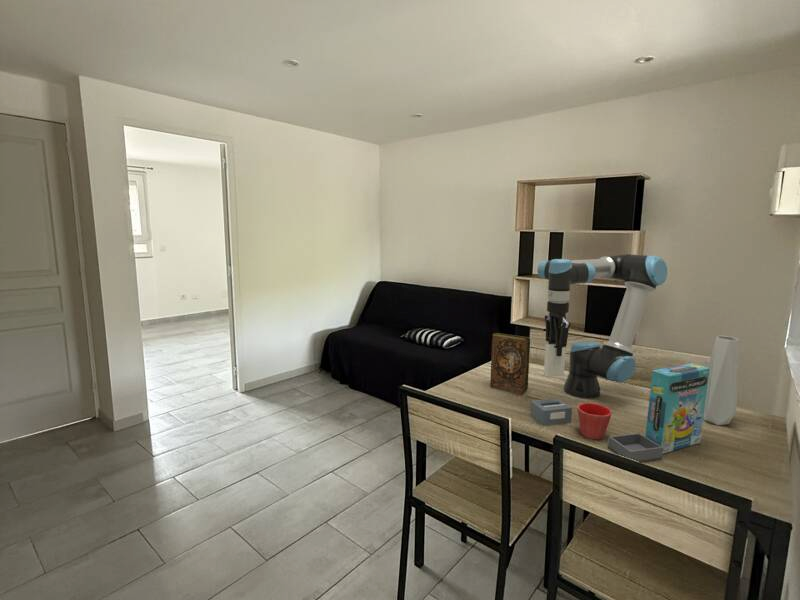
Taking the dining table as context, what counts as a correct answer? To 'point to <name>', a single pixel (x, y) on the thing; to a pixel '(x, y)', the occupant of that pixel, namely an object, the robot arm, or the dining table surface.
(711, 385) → the vase
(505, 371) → the book
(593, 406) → the flower pot
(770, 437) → the dining table surface
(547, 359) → the white rectangular block
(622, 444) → the bin
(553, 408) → the dispenser
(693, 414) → the game box
